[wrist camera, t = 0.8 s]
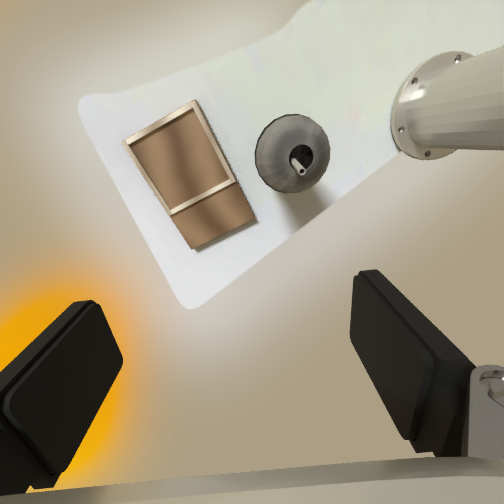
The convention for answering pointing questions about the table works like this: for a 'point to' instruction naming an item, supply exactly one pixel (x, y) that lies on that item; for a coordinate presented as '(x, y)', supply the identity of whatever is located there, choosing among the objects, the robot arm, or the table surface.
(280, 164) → the beverage cup
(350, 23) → the table surface
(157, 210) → the table surface
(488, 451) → the robot arm
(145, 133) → the walnut board
